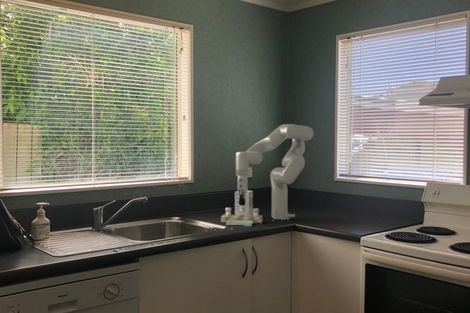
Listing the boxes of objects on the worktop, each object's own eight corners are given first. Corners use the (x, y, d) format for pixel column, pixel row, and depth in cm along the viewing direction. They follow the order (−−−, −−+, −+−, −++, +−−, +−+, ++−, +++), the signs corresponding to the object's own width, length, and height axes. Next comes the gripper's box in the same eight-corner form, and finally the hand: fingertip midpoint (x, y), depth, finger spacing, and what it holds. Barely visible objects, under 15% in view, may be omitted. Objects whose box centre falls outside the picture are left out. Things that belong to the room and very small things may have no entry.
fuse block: (262, 222, 277) (262, 215, 277) (261, 224, 269) (261, 217, 269) (223, 221, 280) (223, 214, 280) (221, 223, 272) (221, 216, 272)
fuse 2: (258, 222, 275) (258, 208, 275) (258, 222, 272) (258, 209, 272) (253, 221, 275) (253, 208, 275) (252, 222, 272) (252, 208, 272)
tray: (253, 224, 269) (253, 220, 269) (251, 227, 260) (251, 223, 260) (228, 223, 271) (228, 220, 271) (226, 226, 262) (226, 222, 262)
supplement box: (249, 219, 286) (249, 192, 286) (234, 219, 289) (234, 191, 288) (253, 217, 296) (253, 190, 295) (238, 216, 298) (238, 190, 298)
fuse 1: (231, 221, 277) (231, 207, 277) (230, 222, 274) (230, 208, 274) (225, 221, 278) (226, 207, 277) (225, 222, 274) (225, 208, 274)
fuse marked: (245, 211, 276) (245, 197, 276) (244, 212, 273) (244, 198, 273) (239, 211, 277) (239, 197, 276) (239, 212, 273) (239, 198, 273)
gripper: (247, 173, 265) (247, 206, 266) (250, 172, 282) (250, 202, 282) (233, 173, 266) (233, 206, 267) (237, 172, 283) (237, 202, 283)
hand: (242, 204), depth 275 cm, fingers closed on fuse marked, 3 cm apart
